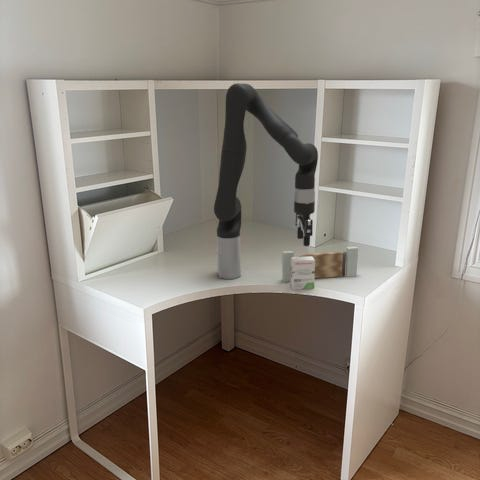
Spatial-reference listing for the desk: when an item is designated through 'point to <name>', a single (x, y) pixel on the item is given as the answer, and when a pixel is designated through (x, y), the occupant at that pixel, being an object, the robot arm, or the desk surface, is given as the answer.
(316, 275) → the brown patterned panel
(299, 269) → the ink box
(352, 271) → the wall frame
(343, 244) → the desk surface
